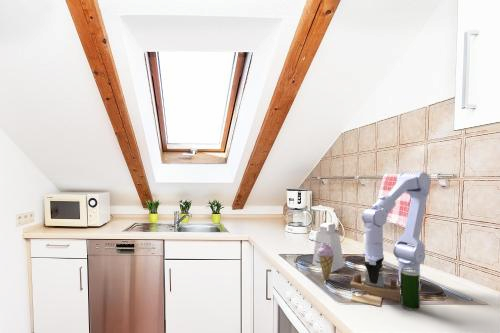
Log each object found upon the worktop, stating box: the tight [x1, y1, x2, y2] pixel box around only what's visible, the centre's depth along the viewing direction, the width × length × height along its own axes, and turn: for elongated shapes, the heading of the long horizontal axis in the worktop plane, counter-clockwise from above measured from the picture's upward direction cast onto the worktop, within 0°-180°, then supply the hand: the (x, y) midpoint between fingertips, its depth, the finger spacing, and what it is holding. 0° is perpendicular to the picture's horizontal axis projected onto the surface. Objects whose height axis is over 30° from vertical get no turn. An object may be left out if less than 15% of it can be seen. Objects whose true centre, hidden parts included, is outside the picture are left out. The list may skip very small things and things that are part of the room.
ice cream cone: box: [317, 243, 334, 281], centre depth 113 cm, size 7×6×15 cm
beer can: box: [400, 267, 421, 312], centre depth 89 cm, size 5×5×12 cm
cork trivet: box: [350, 295, 383, 307], centre depth 95 cm, size 7×9×1 cm
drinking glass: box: [363, 232, 369, 262], centre depth 129 cm, size 7×7×15 cm
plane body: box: [349, 273, 401, 302], centre depth 100 cm, size 7×16×5 cm, turn 60°
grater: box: [312, 222, 345, 273], centre depth 130 cm, size 10×10×20 cm
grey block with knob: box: [364, 269, 385, 288], centre depth 100 cm, size 4×6×5 cm
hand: (374, 279), depth 100 cm, fingers open, 7 cm apart
